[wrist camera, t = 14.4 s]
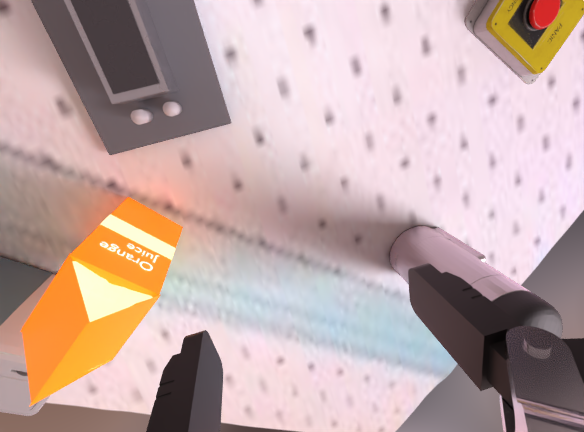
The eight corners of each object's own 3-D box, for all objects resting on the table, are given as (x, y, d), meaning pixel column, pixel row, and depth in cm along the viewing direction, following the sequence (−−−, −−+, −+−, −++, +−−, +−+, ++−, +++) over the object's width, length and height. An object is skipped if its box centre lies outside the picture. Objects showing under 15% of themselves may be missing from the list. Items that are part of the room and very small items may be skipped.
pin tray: (171, -71, 27) (161, -100, 23) (231, 122, 35) (231, 125, 31) (18, -41, 26) (-21, -67, 22) (114, 152, 33) (98, 160, 29)
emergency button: (543, -74, 30) (610, 14, 35) (506, -54, 34) (571, 22, 39) (487, 15, 32) (558, 86, 38) (459, 24, 36) (526, 87, 42)
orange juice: (92, 248, 37) (-37, 392, 19) (127, 195, 35) (22, 297, 17) (150, 275, 40) (85, 421, 22) (184, 227, 38) (146, 342, 20)
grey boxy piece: (142, -9, 27) (120, -36, 22) (179, 91, 31) (168, 90, 25) (89, 2, 27) (52, -23, 21) (132, 103, 31) (111, 104, 25)
